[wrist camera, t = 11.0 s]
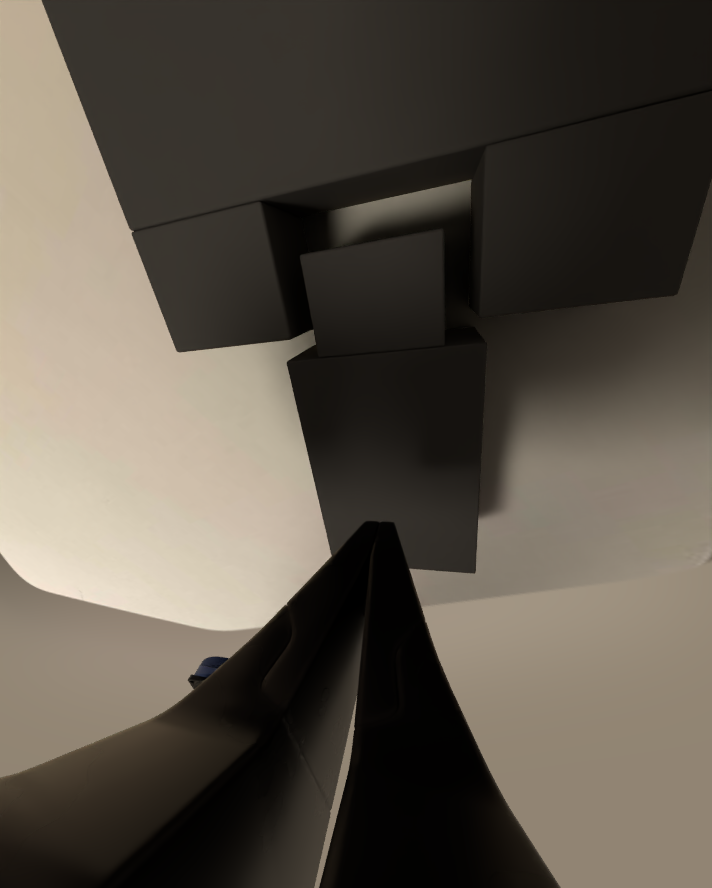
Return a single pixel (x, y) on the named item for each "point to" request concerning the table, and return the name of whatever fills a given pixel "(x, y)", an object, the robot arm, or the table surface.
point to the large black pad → (396, 141)
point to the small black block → (392, 399)
